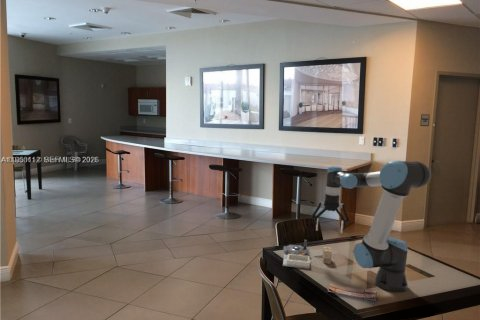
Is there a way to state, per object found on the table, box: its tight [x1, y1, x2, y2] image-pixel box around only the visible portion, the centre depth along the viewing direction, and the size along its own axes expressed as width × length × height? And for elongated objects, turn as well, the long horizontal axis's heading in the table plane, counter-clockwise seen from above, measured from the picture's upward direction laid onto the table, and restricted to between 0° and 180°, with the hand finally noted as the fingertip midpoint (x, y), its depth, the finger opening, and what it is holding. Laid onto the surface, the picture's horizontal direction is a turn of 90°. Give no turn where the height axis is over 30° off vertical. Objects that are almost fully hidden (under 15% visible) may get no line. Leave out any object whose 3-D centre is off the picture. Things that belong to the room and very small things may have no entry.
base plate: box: [282, 252, 311, 270], centre depth 218 cm, size 30×14×3 cm, turn 171°
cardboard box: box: [322, 246, 333, 265], centre depth 215 cm, size 7×4×7 cm, turn 171°
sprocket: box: [282, 239, 311, 256], centre depth 223 cm, size 16×16×7 cm
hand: (329, 231), depth 214 cm, fingers open, 13 cm apart
